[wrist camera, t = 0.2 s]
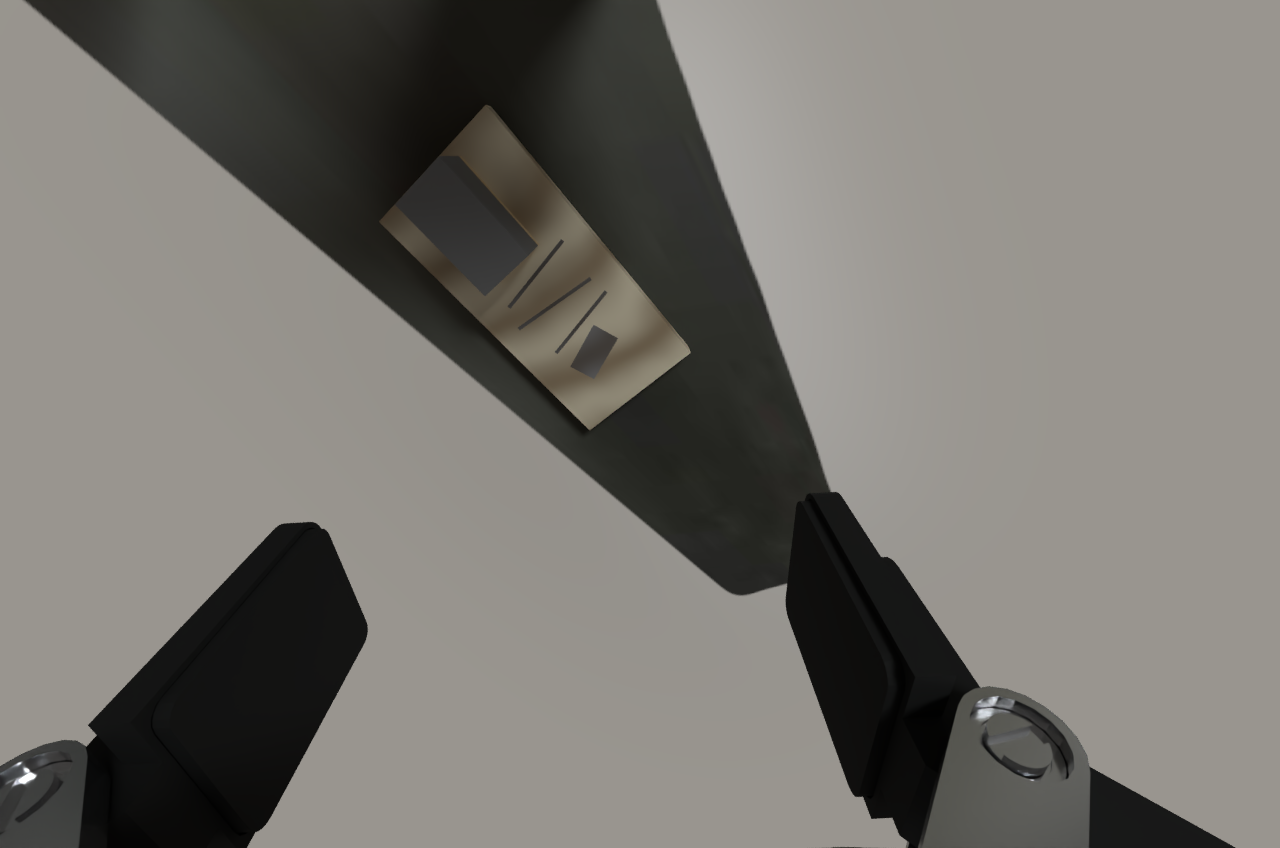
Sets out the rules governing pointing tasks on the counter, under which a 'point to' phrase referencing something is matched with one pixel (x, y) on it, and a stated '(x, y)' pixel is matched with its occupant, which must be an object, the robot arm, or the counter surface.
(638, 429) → the counter surface
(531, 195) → the birch board
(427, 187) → the sanding sponge
